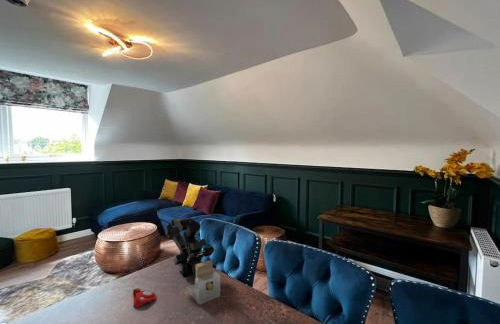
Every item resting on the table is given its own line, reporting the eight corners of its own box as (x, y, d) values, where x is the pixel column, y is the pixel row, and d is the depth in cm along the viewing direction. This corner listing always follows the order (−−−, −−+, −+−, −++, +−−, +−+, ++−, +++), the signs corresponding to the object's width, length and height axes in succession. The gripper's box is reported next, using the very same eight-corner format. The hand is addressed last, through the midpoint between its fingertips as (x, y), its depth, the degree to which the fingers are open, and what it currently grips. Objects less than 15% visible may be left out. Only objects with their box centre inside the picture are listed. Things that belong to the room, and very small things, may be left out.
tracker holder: (160, 291, 104) (150, 300, 95) (157, 302, 104) (146, 312, 94) (136, 283, 106) (122, 291, 96) (132, 294, 105) (119, 303, 95)
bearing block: (186, 287, 109) (186, 267, 108) (206, 280, 114) (206, 262, 114) (198, 305, 97) (198, 282, 96) (220, 296, 102) (220, 275, 102)
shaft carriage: (195, 293, 103) (195, 264, 102) (210, 287, 107) (210, 260, 106) (203, 303, 96) (203, 272, 95) (218, 297, 100) (218, 268, 99)
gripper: (175, 238, 106) (183, 272, 98) (212, 230, 117) (223, 260, 108) (170, 248, 113) (178, 281, 105) (206, 240, 124) (215, 269, 115)
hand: (199, 272), depth 108 cm, fingers closed
